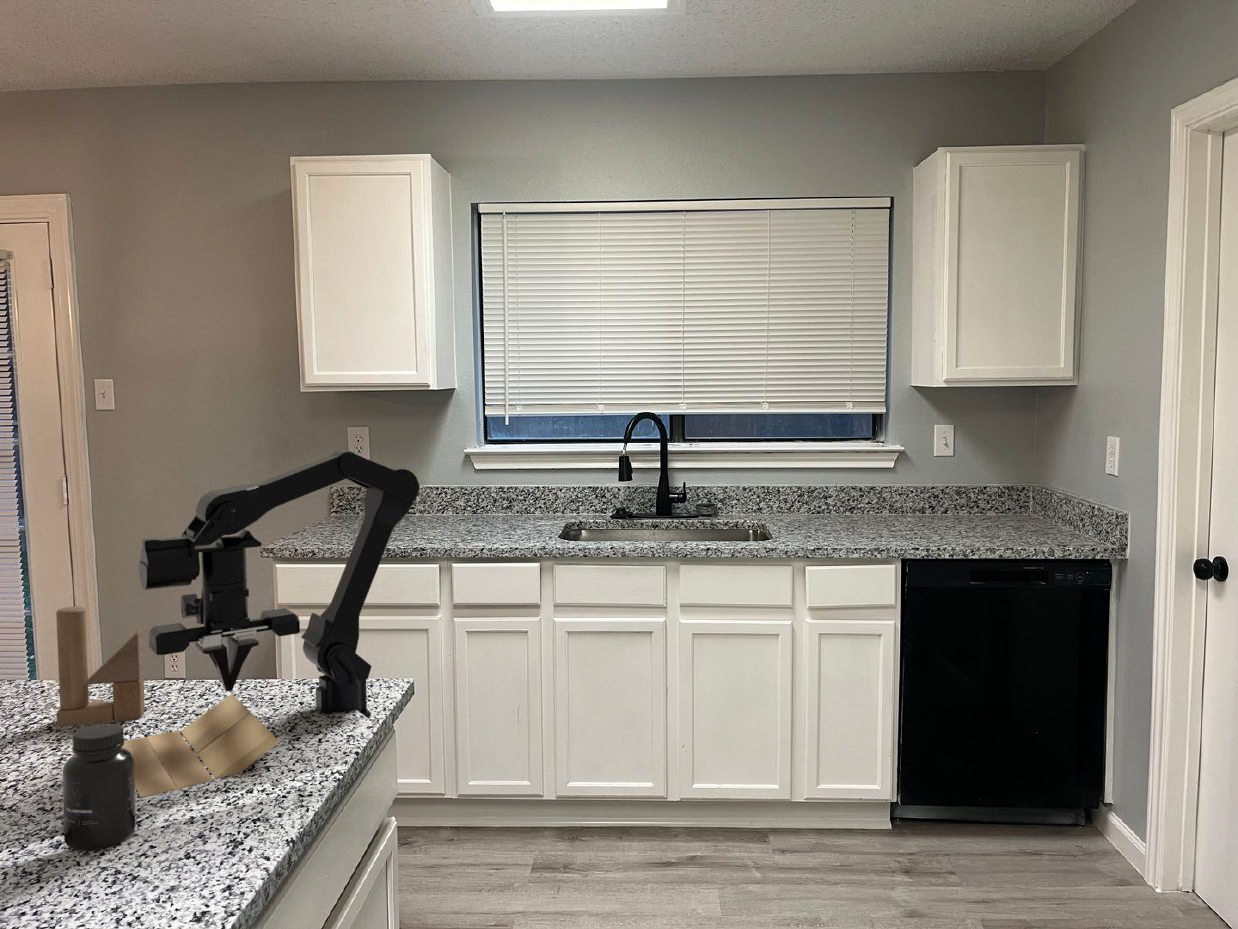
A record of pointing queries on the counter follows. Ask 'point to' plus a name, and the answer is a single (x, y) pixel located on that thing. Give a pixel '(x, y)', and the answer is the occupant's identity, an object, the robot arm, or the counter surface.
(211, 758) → the oak plank
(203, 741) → the oak plank
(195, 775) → the laid floor row
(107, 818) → the supplement bottle
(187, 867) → the counter surface
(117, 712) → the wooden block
